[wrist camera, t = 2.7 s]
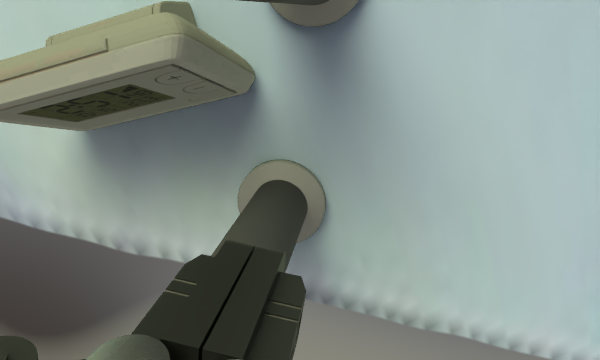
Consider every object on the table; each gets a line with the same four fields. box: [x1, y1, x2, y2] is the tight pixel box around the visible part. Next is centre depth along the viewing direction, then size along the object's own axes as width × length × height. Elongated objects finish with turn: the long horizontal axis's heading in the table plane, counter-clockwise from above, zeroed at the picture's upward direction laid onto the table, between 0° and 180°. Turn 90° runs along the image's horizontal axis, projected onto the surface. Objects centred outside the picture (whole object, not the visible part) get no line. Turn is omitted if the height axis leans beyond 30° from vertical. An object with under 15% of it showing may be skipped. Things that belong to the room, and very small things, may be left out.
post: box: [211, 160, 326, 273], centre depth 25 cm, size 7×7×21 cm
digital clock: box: [0, 1, 255, 131], centre depth 27 cm, size 16×9×11 cm, turn 93°
